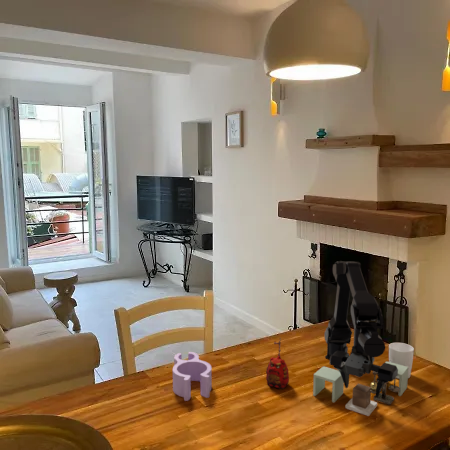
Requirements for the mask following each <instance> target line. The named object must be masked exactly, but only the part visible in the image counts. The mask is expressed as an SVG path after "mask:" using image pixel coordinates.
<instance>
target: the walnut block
mask: <svg viewBox="0 0 450 450" xmlns="http://www.w3.org/2000/svg"><path fill="white" fill-rule="evenodd" d="M371 394H372V393H371V386H367V385H365V384H362V383H357V384H356V385H354V387H352V398H351V399H352V404H353V405H355V406H358V407H361V408H364V409H366V408H367V406H368V405H369V404H370V400H371V397H372V396H371ZM371 401H372V400H371Z"/></svg>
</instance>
